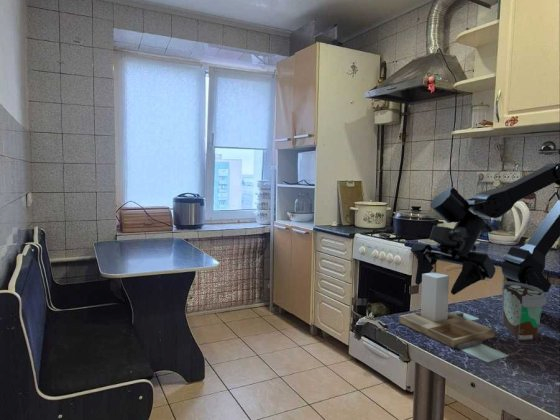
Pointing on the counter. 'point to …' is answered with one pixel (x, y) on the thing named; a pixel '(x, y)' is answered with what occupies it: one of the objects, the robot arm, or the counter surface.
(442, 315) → the tall white block
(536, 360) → the counter surface
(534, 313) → the food container
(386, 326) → the counter surface
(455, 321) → the puzzle board
